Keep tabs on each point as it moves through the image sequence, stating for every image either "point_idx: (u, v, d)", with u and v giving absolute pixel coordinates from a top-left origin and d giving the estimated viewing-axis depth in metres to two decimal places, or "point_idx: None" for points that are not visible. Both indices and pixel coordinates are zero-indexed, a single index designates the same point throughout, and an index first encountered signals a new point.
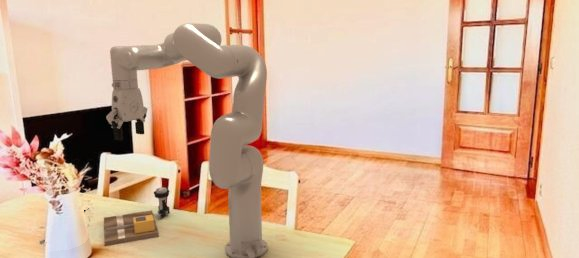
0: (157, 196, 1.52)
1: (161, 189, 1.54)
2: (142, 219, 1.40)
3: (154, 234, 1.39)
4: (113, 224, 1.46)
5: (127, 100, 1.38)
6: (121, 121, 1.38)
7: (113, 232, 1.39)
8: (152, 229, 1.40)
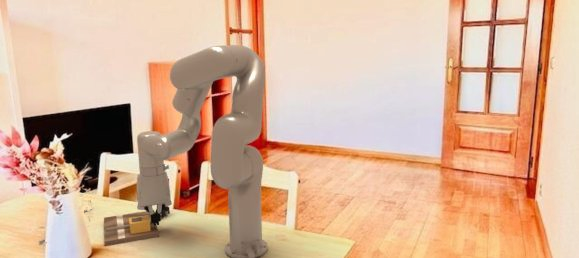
0: None
1: None
2: (138, 220, 1.39)
3: (154, 234, 1.39)
4: (113, 224, 1.46)
5: None
6: None
7: (113, 232, 1.39)
8: (147, 230, 1.39)
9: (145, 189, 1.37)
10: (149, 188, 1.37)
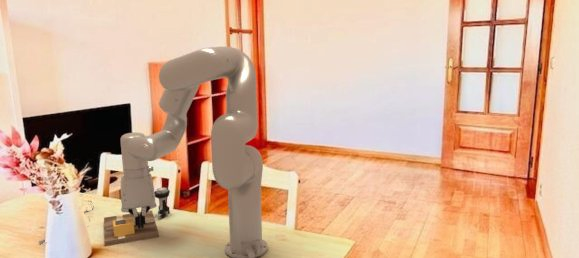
0: (157, 196, 1.52)
1: (161, 189, 1.53)
2: (122, 222, 1.37)
3: (154, 234, 1.39)
4: None
5: None
6: None
7: (113, 232, 1.39)
8: (131, 233, 1.37)
9: (129, 191, 1.35)
10: (133, 190, 1.35)
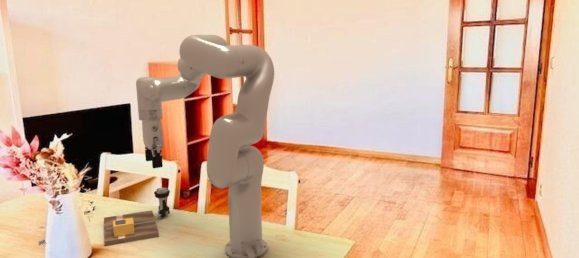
0: (157, 196, 1.52)
1: (161, 189, 1.53)
2: (122, 222, 1.37)
3: (154, 234, 1.39)
4: None
5: None
6: None
7: (113, 232, 1.39)
8: (131, 233, 1.37)
9: (142, 129, 1.47)
10: (143, 129, 1.46)
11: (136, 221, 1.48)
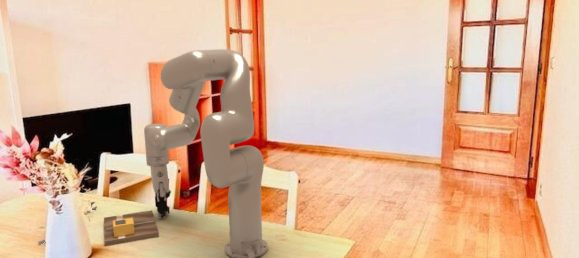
0: None
1: None
2: (122, 222, 1.37)
3: (154, 234, 1.39)
4: None
5: (167, 172, 1.50)
6: None
7: (113, 232, 1.39)
8: (131, 233, 1.37)
9: None
10: None
11: (136, 221, 1.48)
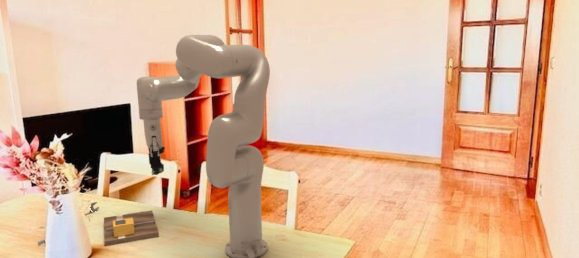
0: None
1: None
2: (122, 222, 1.37)
3: (154, 234, 1.39)
4: None
5: None
6: (158, 149, 1.47)
7: (113, 232, 1.39)
8: (131, 233, 1.37)
9: None
10: None
11: (136, 221, 1.48)
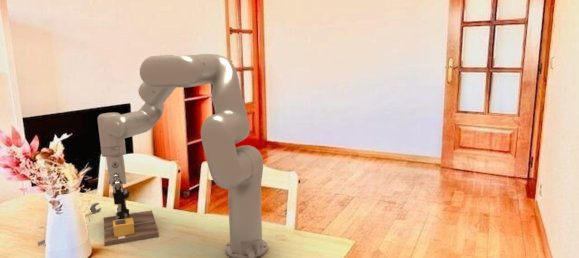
0: None
1: None
2: (122, 222, 1.37)
3: (154, 234, 1.39)
4: None
5: None
6: (122, 185, 1.43)
7: (113, 232, 1.39)
8: (131, 233, 1.37)
9: None
10: None
11: (136, 221, 1.48)
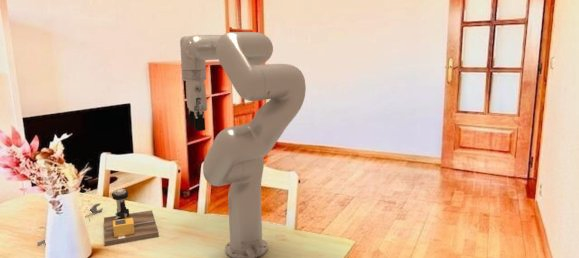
0: (115, 198, 1.46)
1: (119, 191, 1.48)
2: (122, 222, 1.37)
3: (154, 234, 1.39)
4: None
5: None
6: None
7: (113, 232, 1.39)
8: (131, 233, 1.37)
9: (186, 91, 1.42)
10: (186, 91, 1.41)
11: (136, 221, 1.48)
